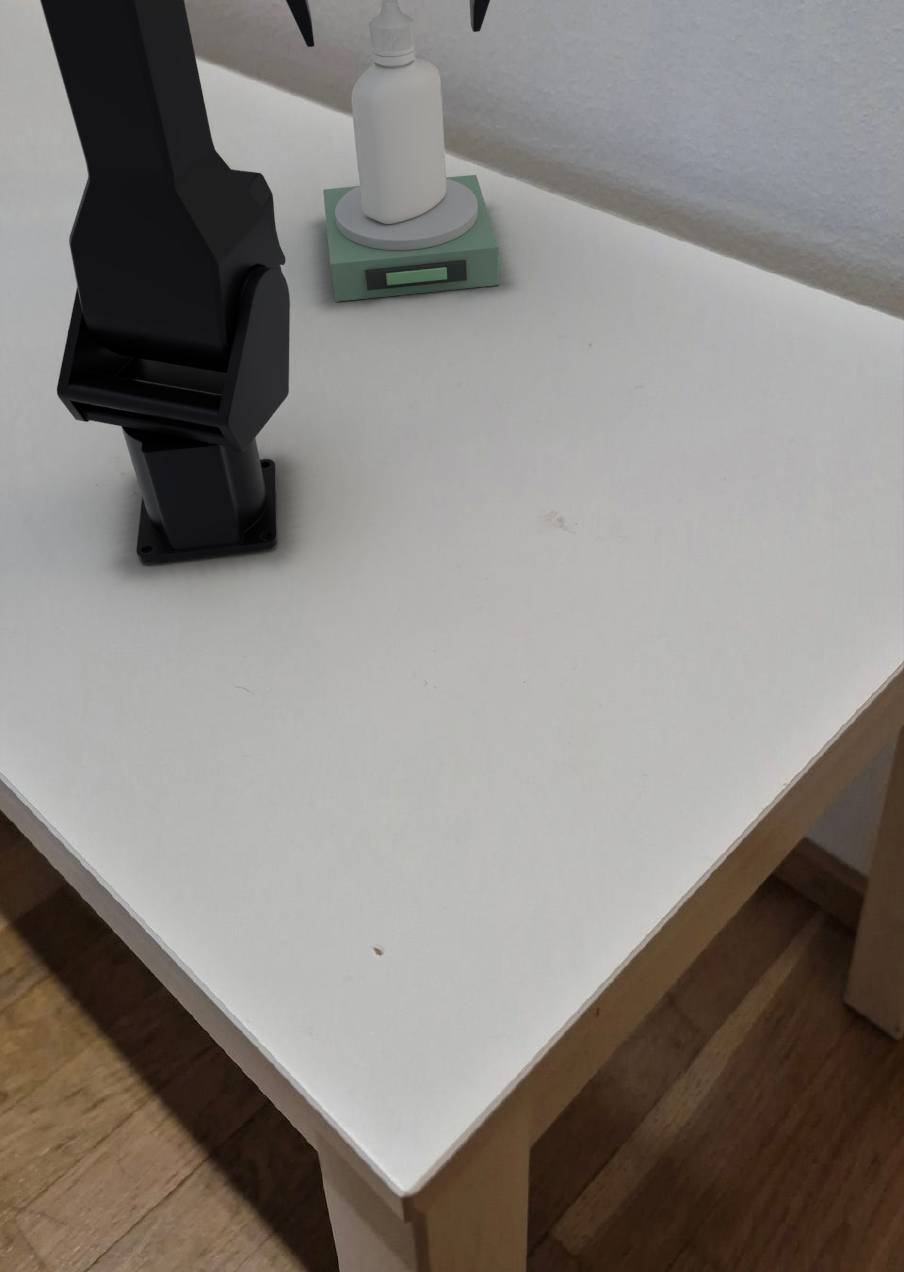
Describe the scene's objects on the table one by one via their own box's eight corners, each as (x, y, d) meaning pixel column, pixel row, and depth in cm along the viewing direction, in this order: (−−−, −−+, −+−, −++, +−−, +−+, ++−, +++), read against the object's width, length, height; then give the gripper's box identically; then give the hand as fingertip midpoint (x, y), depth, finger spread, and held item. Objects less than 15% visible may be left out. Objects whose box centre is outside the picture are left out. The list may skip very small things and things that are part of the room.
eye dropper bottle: (352, 199, 72) (329, -12, 64) (439, 184, 73) (427, -26, 65) (369, 230, 69) (347, 13, 61) (459, 213, 70) (450, -3, 62)
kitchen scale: (500, 289, 70) (499, 239, 68) (335, 306, 70) (329, 256, 67) (477, 211, 78) (475, 163, 75) (327, 225, 77) (321, 178, 75)
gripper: (536, -360, 59) (535, -24, 71) (170, -333, 59) (227, 4, 70) (579, -332, 52) (569, 41, 63) (157, -300, 51) (224, 73, 62)
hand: (393, 37), depth 65 cm, fingers open, 9 cm apart
